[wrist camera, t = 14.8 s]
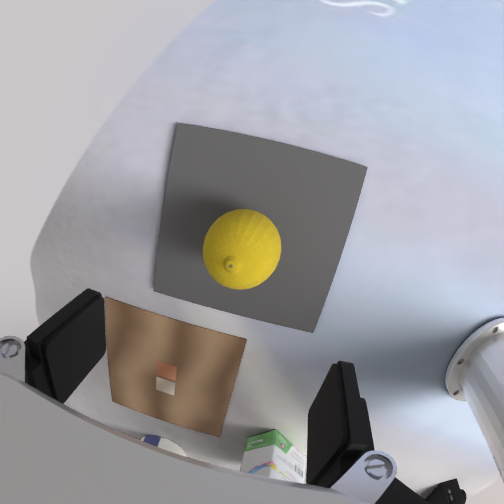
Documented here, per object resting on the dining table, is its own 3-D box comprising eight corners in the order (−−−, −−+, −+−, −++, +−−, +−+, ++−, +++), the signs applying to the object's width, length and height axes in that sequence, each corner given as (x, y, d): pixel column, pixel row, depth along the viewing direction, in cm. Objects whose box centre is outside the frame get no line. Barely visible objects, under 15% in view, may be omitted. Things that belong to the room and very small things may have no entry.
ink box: (306, 456, 37) (304, 525, 26) (275, 465, 38) (268, 530, 27) (276, 427, 35) (268, 505, 24) (243, 437, 37) (228, 509, 26)
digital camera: (441, 498, 42) (446, 520, 35) (421, 503, 43) (425, 526, 36) (461, 476, 39) (469, 501, 32) (440, 482, 39) (447, 508, 33)
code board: (246, 338, 31) (246, 340, 31) (219, 436, 37) (219, 437, 37) (106, 296, 31) (104, 297, 31) (113, 400, 38) (112, 401, 37)
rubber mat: (365, 166, 24) (367, 167, 23) (312, 329, 30) (313, 332, 29) (180, 123, 24) (177, 122, 24) (155, 288, 30) (153, 291, 30)
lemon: (270, 192, 25) (257, 208, 18) (292, 254, 26) (289, 294, 19) (209, 215, 26) (173, 239, 19) (233, 273, 28) (208, 316, 20)
